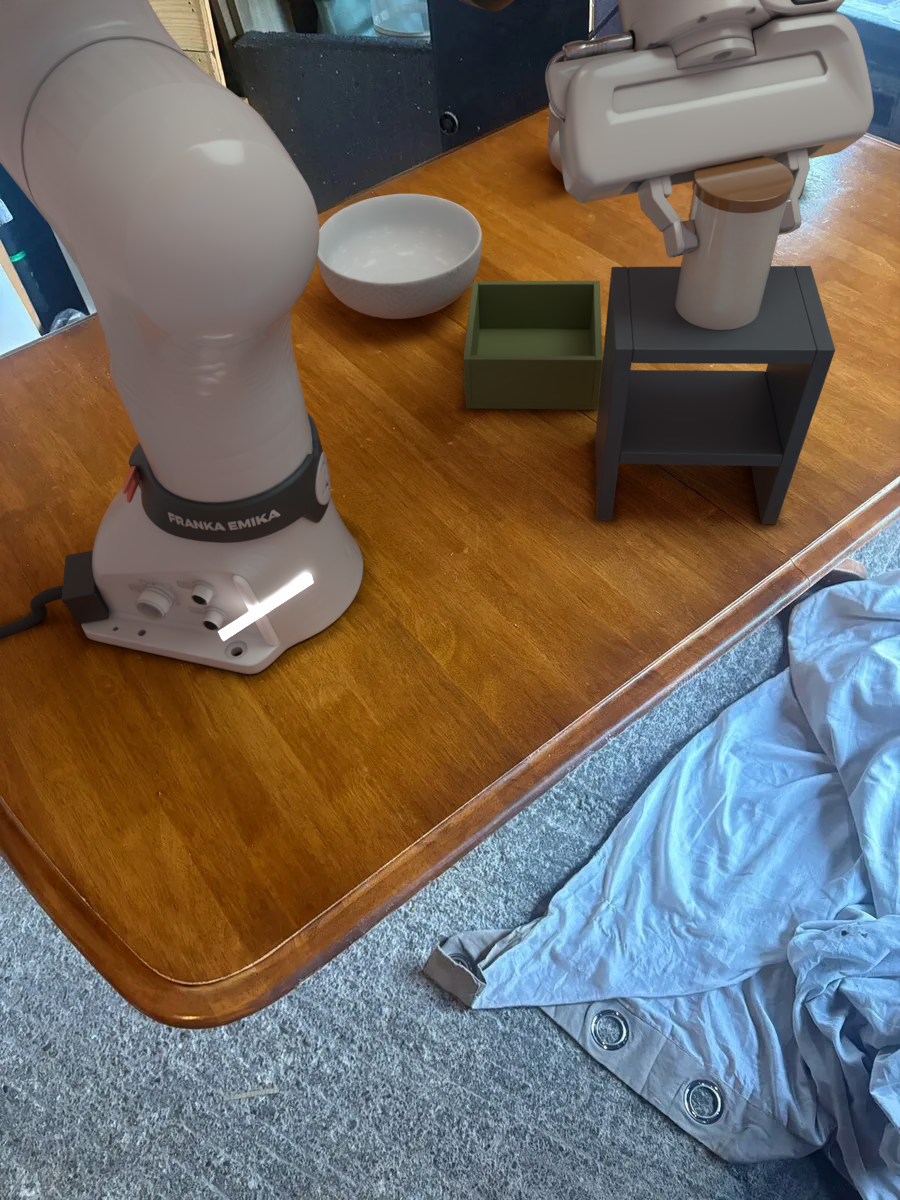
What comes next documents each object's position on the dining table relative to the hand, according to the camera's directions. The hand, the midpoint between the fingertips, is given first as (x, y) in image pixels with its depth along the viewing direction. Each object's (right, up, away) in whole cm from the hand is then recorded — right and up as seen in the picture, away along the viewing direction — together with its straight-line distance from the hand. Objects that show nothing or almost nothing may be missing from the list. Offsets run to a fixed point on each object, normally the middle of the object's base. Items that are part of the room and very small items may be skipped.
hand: (734, 242), depth 58 cm
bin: (-11, -1, +28) cm, 30 cm away
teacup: (-3, +28, +50) cm, 58 cm away
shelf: (+1, -13, +18) cm, 22 cm away
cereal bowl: (-24, +9, +37) cm, 45 cm away
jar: (0, -3, +4) cm, 5 cm away
